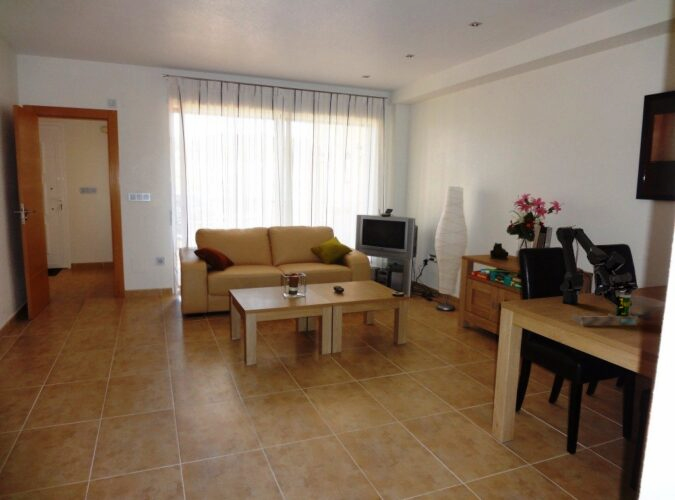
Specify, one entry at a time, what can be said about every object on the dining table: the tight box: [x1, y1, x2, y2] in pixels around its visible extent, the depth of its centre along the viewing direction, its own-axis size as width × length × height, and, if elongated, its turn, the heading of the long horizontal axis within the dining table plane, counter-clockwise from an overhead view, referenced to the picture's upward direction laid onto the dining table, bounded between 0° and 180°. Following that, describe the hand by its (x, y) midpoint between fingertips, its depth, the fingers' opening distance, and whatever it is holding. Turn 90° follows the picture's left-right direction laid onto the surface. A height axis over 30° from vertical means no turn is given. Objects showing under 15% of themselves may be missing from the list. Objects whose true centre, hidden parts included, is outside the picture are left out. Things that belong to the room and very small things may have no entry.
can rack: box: [571, 313, 639, 327], centre depth 204 cm, size 24×9×4 cm, turn 89°
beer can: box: [614, 291, 632, 316], centre depth 204 cm, size 5×5×12 cm
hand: (625, 306), depth 202 cm, fingers closed on beer can, 5 cm apart
